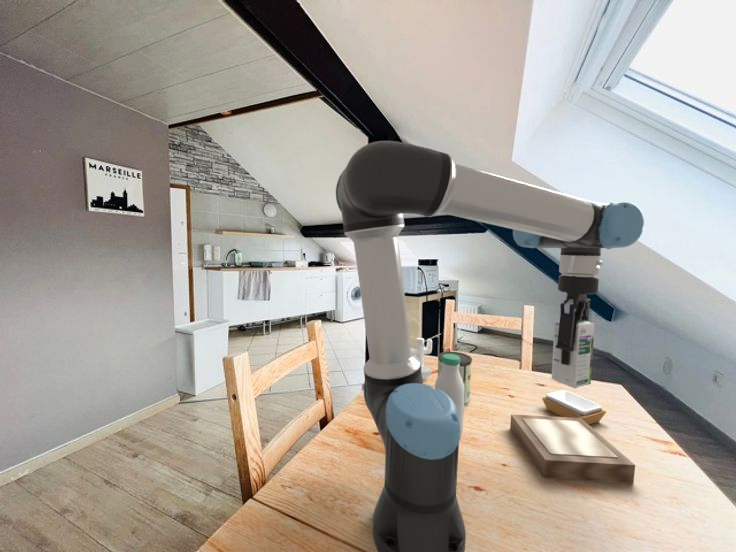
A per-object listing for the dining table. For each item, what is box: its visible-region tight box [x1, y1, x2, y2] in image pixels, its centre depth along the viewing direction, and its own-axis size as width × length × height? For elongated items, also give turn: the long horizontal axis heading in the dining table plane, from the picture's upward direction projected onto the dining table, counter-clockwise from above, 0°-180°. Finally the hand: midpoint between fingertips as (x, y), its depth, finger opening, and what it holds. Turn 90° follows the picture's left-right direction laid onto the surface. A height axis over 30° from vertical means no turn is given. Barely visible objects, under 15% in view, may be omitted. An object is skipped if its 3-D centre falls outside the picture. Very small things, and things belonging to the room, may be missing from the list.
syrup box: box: [551, 319, 595, 389], centre depth 72 cm, size 6×6×14 cm
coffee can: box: [437, 351, 473, 408], centre depth 98 cm, size 10×10×14 cm
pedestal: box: [509, 414, 636, 484], centre depth 74 cm, size 18×18×4 cm
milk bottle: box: [434, 354, 465, 436], centre depth 81 cm, size 8×8×20 cm
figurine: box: [411, 337, 434, 381], centre depth 115 cm, size 7×9×15 cm
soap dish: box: [541, 389, 607, 425], centre depth 91 cm, size 12×10×5 cm
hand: (570, 373), depth 72 cm, fingers closed on syrup box, 7 cm apart
